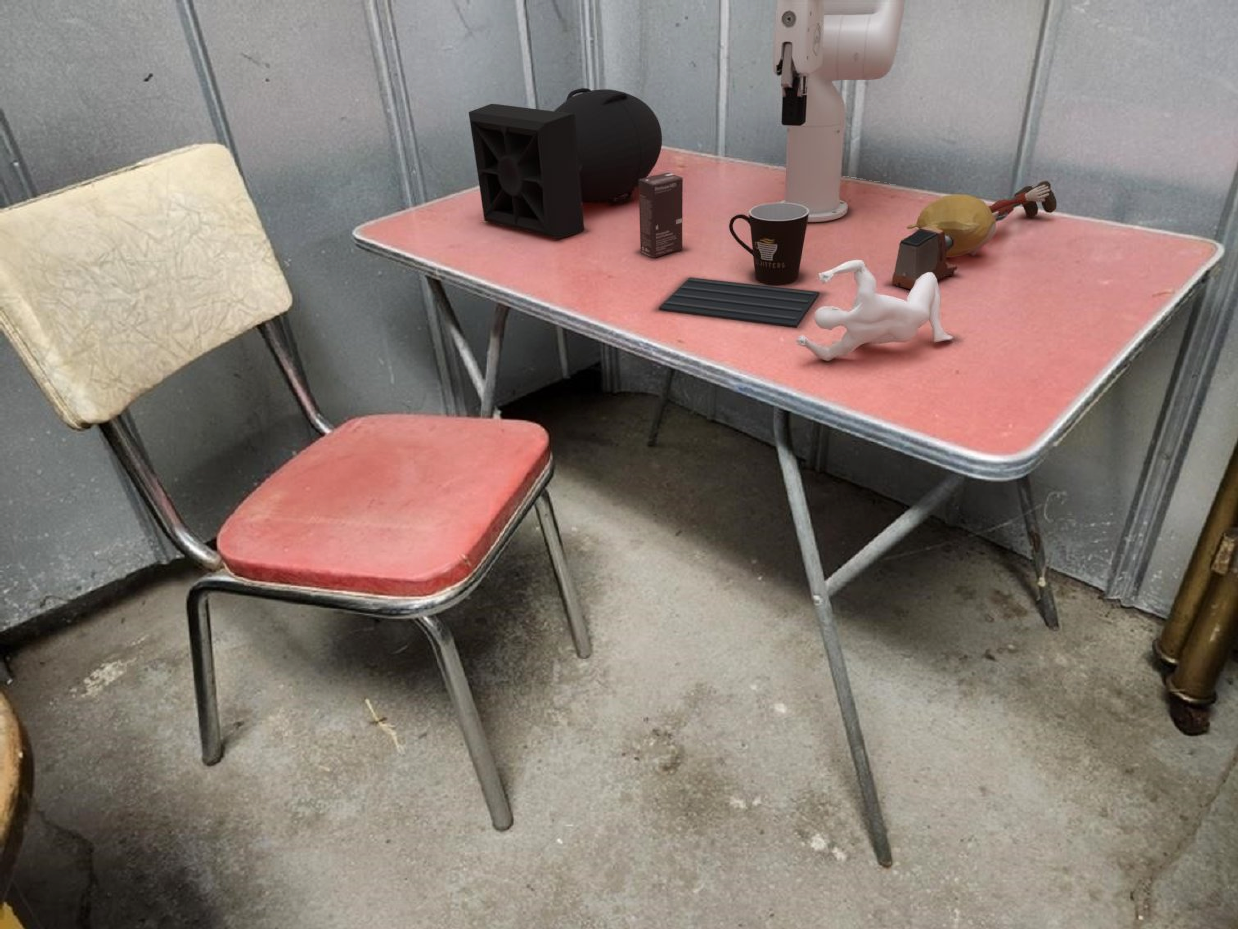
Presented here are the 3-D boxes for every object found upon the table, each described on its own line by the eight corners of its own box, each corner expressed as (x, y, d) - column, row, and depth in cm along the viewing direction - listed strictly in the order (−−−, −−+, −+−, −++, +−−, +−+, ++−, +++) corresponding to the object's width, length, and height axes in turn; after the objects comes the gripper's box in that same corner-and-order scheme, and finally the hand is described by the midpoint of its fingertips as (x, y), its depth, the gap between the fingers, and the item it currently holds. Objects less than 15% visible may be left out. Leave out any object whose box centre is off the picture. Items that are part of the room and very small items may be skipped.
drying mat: (689, 279, 133) (689, 275, 133) (819, 294, 125) (819, 289, 125) (658, 309, 124) (658, 305, 124) (796, 327, 116) (796, 322, 116)
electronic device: (957, 275, 128) (965, 224, 124) (915, 293, 123) (921, 241, 119) (932, 267, 131) (938, 218, 127) (890, 285, 127) (895, 234, 122)
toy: (984, 236, 155) (884, 282, 139) (970, 181, 153) (868, 221, 137) (1114, 202, 137) (1016, 251, 121) (1100, 139, 135) (999, 181, 119)
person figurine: (892, 237, 112) (823, 255, 99) (983, 278, 106) (922, 302, 93) (855, 328, 119) (786, 355, 106) (938, 371, 113) (876, 405, 100)
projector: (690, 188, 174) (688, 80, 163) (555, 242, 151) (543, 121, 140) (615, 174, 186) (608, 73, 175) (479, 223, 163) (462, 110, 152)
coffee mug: (817, 278, 130) (821, 212, 125) (771, 292, 127) (774, 224, 121) (768, 257, 139) (770, 194, 133) (724, 270, 136) (724, 206, 130)
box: (655, 259, 141) (652, 184, 135) (639, 252, 145) (636, 178, 138) (685, 250, 144) (683, 176, 138) (669, 243, 147) (667, 171, 141)
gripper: (812, -13, 112) (804, 136, 122) (840, -23, 123) (831, 114, 133) (756, -11, 115) (753, 134, 125) (788, -21, 126) (783, 113, 136)
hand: (793, 124), depth 129 cm, fingers closed
